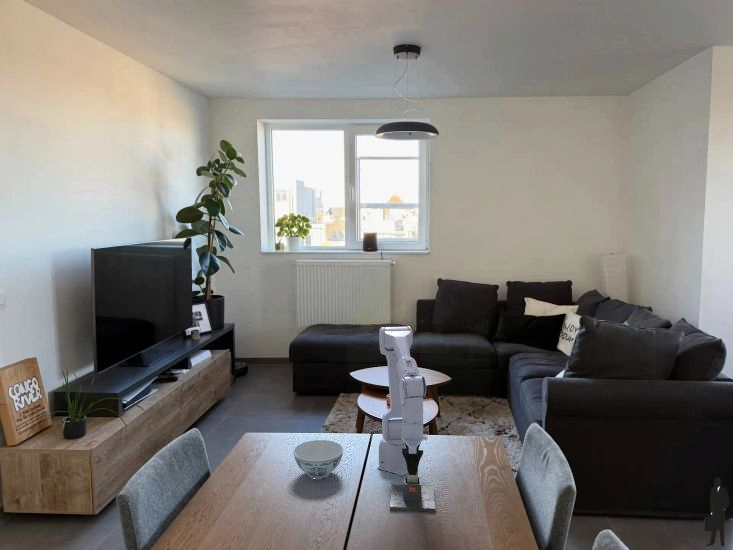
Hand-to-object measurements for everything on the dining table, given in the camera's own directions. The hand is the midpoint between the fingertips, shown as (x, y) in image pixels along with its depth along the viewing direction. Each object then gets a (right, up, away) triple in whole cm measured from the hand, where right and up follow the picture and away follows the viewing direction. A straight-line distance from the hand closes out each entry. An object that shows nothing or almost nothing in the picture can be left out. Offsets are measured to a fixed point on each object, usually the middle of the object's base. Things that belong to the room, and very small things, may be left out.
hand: (412, 468), depth 144 cm
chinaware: (-27, -8, +16) cm, 32 cm away
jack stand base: (0, -9, +1) cm, 9 cm away
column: (0, -5, 0) cm, 5 cm away
